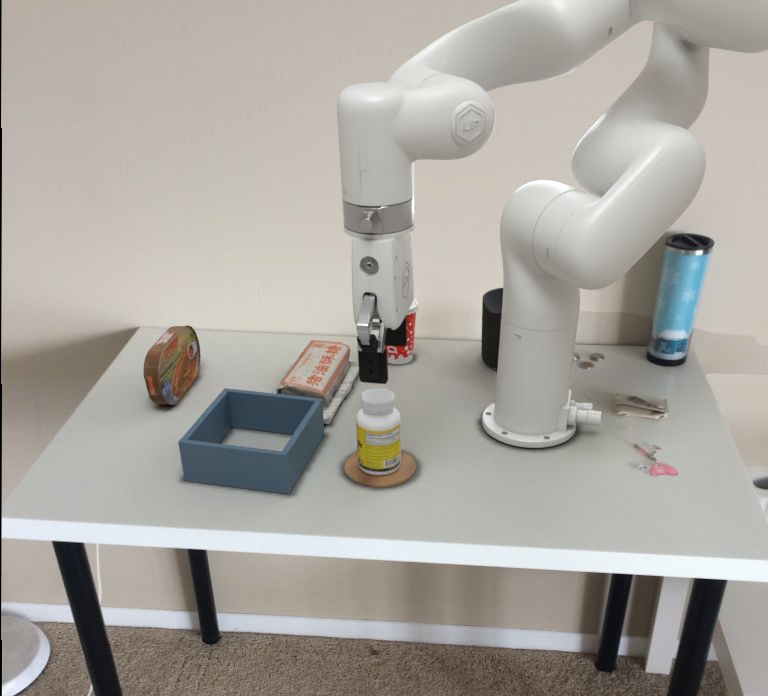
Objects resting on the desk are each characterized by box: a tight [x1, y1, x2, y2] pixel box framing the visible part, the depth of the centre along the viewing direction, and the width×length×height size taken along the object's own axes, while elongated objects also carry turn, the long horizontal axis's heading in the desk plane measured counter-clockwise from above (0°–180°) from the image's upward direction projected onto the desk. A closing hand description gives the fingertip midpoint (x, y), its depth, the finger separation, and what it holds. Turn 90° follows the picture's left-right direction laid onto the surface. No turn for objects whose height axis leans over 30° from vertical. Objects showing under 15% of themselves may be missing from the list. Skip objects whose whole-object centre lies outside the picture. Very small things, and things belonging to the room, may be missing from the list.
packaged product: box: [271, 339, 359, 425], centre depth 125 cm, size 18×5×10 cm
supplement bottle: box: [355, 387, 402, 475], centre depth 106 cm, size 5×5×10 cm
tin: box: [143, 324, 202, 406], centre depth 125 cm, size 15×3×8 cm, turn 170°
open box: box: [177, 387, 325, 495], centre depth 110 cm, size 14×15×6 cm
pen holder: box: [481, 287, 503, 370], centre depth 132 cm, size 9×9×10 cm
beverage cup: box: [384, 298, 419, 365], centre depth 132 cm, size 6×6×14 cm
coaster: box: [343, 450, 417, 489], centre depth 109 cm, size 9×9×1 cm
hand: (384, 362), depth 101 cm, fingers open, 9 cm apart
